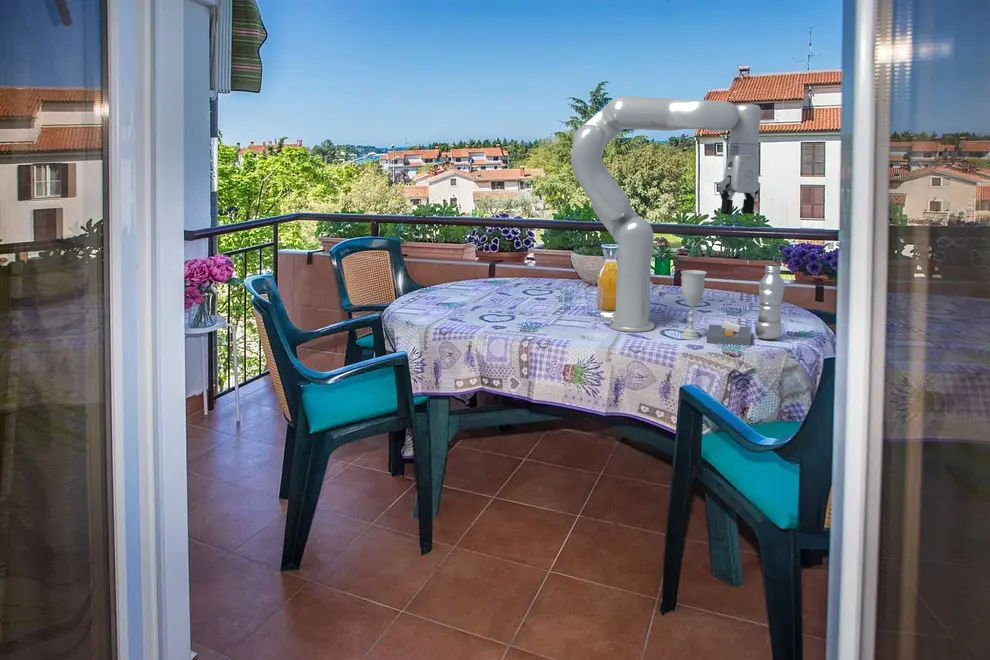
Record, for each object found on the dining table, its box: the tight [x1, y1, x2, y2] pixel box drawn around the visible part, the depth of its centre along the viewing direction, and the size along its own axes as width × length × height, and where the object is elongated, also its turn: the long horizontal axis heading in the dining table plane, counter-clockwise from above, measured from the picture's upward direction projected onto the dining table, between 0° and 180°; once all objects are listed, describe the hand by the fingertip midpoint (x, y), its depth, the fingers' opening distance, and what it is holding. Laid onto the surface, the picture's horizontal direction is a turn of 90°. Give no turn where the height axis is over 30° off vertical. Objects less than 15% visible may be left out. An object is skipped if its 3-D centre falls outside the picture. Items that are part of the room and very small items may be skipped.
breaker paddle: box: [721, 319, 740, 332], centre depth 206 cm, size 4×3×1 cm
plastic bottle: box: [754, 263, 786, 340], centre depth 203 cm, size 6×7×20 cm
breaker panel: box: [706, 321, 752, 346], centre depth 206 cm, size 11×14×3 cm
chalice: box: [680, 269, 708, 341], centre depth 206 cm, size 7×7×18 cm
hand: (737, 213), depth 213 cm, fingers open, 9 cm apart
